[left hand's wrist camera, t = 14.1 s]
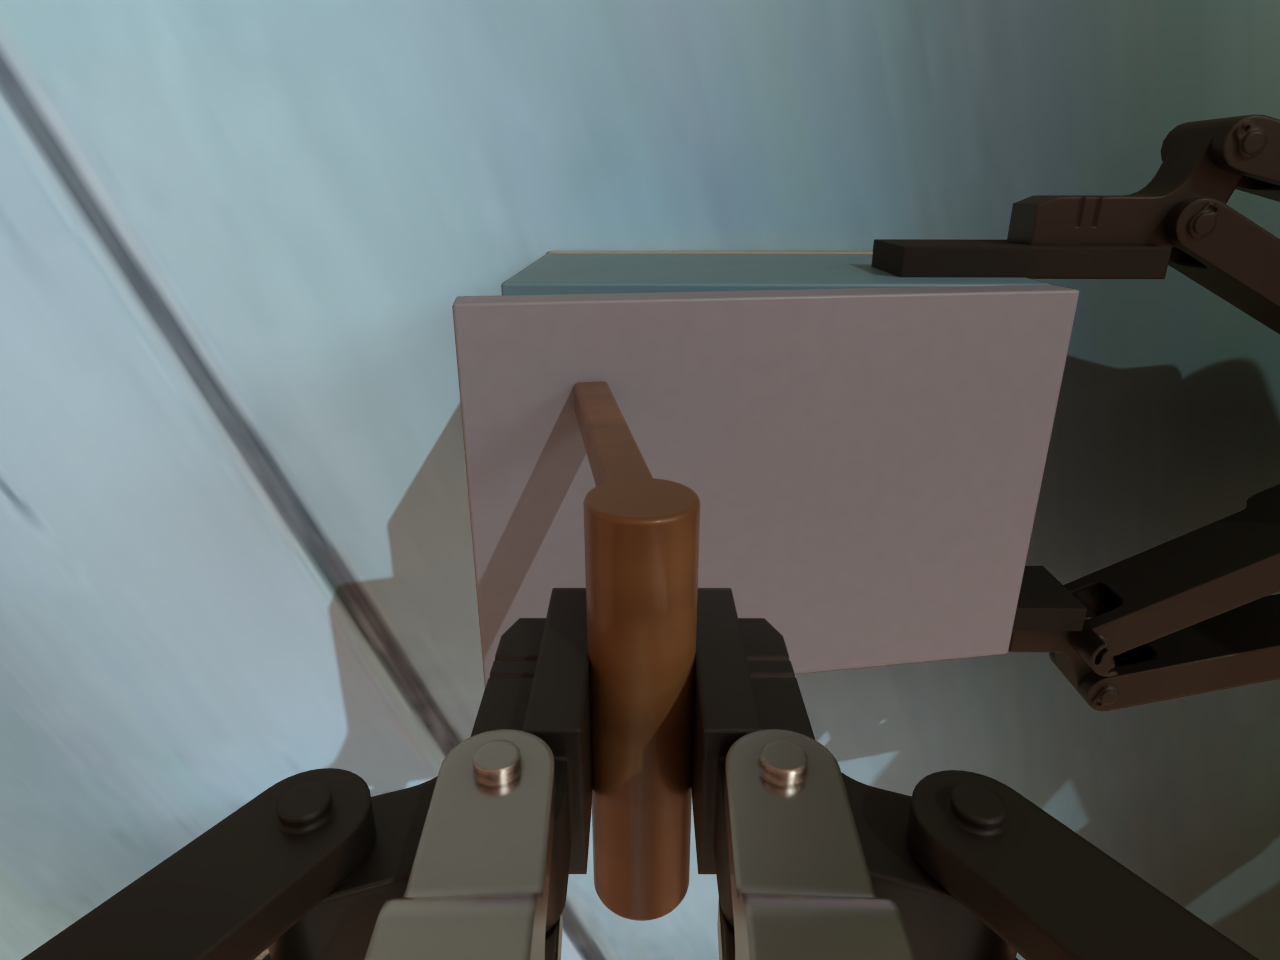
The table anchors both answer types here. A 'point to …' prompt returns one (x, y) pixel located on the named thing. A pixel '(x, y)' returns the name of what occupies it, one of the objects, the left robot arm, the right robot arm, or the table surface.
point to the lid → (749, 498)
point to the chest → (715, 273)
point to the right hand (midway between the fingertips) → (866, 440)
